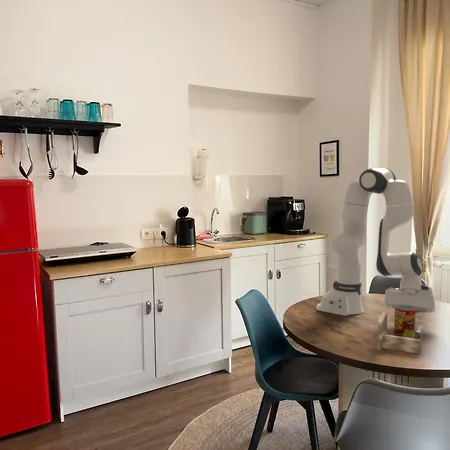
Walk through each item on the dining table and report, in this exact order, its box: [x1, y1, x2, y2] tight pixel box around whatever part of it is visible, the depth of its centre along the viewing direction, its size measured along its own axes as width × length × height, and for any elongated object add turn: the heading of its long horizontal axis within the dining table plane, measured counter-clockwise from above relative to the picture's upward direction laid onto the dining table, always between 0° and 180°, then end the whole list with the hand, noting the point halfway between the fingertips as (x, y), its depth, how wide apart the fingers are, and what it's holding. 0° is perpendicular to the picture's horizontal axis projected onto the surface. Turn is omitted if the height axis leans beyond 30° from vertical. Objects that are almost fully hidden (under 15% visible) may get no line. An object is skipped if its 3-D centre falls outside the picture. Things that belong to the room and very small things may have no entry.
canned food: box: [393, 304, 417, 339], centre depth 180 cm, size 8×8×12 cm
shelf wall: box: [376, 310, 421, 354], centre depth 168 cm, size 14×14×11 cm
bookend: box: [415, 325, 423, 349], centre depth 168 cm, size 1×8×7 cm, turn 152°
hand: (407, 317), depth 186 cm, fingers closed
